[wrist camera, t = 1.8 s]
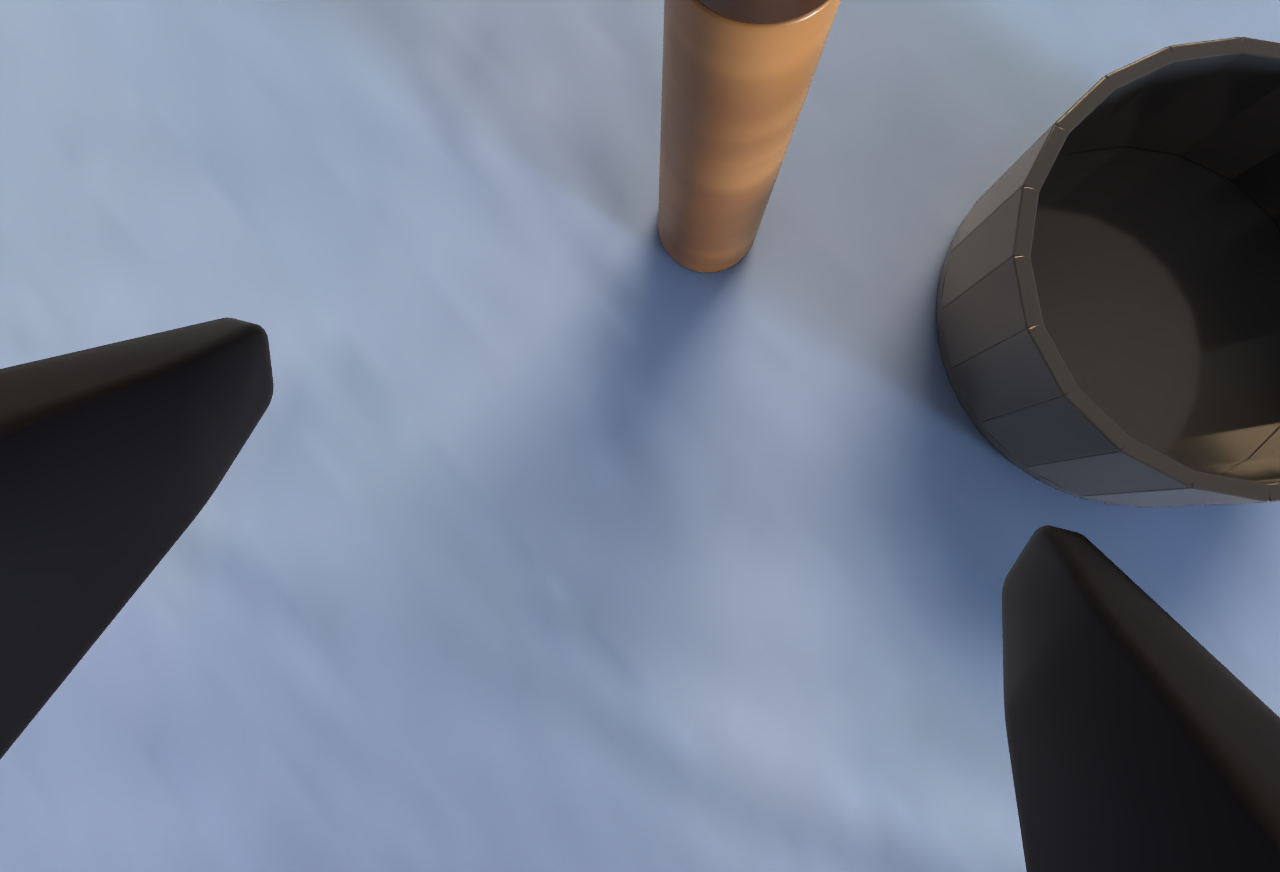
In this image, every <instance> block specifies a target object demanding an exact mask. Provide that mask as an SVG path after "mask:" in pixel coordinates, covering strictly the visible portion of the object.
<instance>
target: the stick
mask: <svg viewBox="0 0 1280 872" xmlns="http://www.w3.org/2000/svg"><path fill="white" fill-rule="evenodd" d="M840 1H841V0H665V1H664V36H663V71H662V106H661V142H660V177H659V212H658V231H659V236H660V239H661V242H662V244H663V246H664V248H665V250H666V251H667V253H668V254H669V255H670V256H671V258H672V259H674V260H675V261H676V262H677V263H679V264H680V265H682V266H683V267H685V268H687V269H690V270H693V271H697V272H705V273H710V272H718V271H722V270H725V269H727V268H730V267H732V266H733V265H735V264H736V263H738V262H739V261H740V260H741V259H742V258H743V257H744V256H745V255H746V254H747V253H748V251H749V250H750V248H751V246H752V244H753V241H754V239H755V236H756V233H757V230H758V228H759V225H760V222H761V219H762V216H763V214H764V211H765V208H766V205H767V203H768V200H769V197H770V194H771V192H772V189H773V186H774V183H775V181H776V178H777V175H778V172H779V170H780V167H781V164H782V161H783V159H784V156H785V153H786V150H787V147H788V145H789V142H790V139H791V136H792V134H793V131H794V128H795V125H796V123H797V120H798V117H799V114H800V112H801V109H802V106H803V103H804V101H805V98H806V95H807V92H808V89H809V87H810V84H811V81H812V78H813V76H814V73H815V70H816V67H817V65H818V62H819V59H820V56H821V54H822V51H823V48H824V45H825V43H826V40H827V37H828V34H829V32H830V29H831V26H832V23H833V20H834V18H835V15H836V12H837V9H838V7H839V4H840Z"/></svg>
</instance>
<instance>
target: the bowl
mask: <svg viewBox="0 0 1280 872" xmlns="http://www.w3.org/2000/svg"><path fill="white" fill-rule="evenodd" d="M936 317H937V330H938V340H939V344H940V349H941V354H942V358H943V363H944V365H945V368H946V371H947V374H948V376H949V379H950V382H951V385H952V387H953V389H954V391H955V393H956V395H957V397H958V399H959V401H960V403H961V404H962V406H963V408H964V410H965V411H966V412H967V414H968V415H969V417H970V418H971V420H972V421H973V423H974V424H975V426H976V427H977V428H978V429H979V431H980V432H981V433H982V434H983V435H984V436H985V437H986V438H987V440H988V441H989V442H990V443H991V444H992V445H993V446H994V447H995V448H996V449H997V450H998V451H999V452H1000V453H1002V454H1003V455H1004V456H1005V457H1006V458H1007V459H1008V460H1010V461H1011V462H1012V463H1013V464H1014V465H1016V466H1017V467H1019V468H1020V469H1022V470H1023V471H1025V472H1026V473H1028V474H1029V475H1031V476H1032V477H1034V478H1035V479H1037V480H1039V481H1041V482H1043V483H1045V484H1047V485H1049V486H1051V487H1053V488H1055V489H1057V490H1060V491H1063V492H1066V493H1068V494H1071V495H1074V496H1077V497H1079V498H1083V499H1087V500H1092V501H1096V502H1101V503H1105V504H1116V505H1127V506H1135V507H1144V508H1146V507H1170V506H1194V505H1217V504H1241V503H1264V502H1276V501H1280V43H1276V42H1270V41H1264V40H1258V39H1252V38H1246V37H1241V38H1240V37H1235V38H1227V39H1219V40H1212V41H1204V42H1196V43H1188V44H1181V45H1173V46H1169V47H1165V48H1163V49H1161V50H1159V51H1157V52H1155V53H1153V54H1150V55H1148V56H1146V57H1144V58H1142V59H1140V60H1138V61H1135V62H1133V63H1131V64H1129V65H1127V66H1125V67H1123V68H1120V69H1118V70H1116V71H1114V72H1112V73H1110V74H1108V75H1106V76H1105V77H1103V78H1101V79H1100V80H1099V81H1098V82H1097V83H1096V84H1095V85H1094V86H1093V87H1092V88H1091V89H1090V90H1089V91H1088V92H1087V93H1086V94H1085V95H1084V96H1083V97H1081V98H1080V99H1079V100H1078V101H1077V102H1076V103H1075V104H1074V105H1073V106H1072V107H1071V108H1070V109H1069V110H1068V111H1067V112H1066V113H1065V114H1064V115H1063V116H1062V117H1060V118H1059V119H1058V120H1057V121H1056V122H1055V123H1054V124H1053V125H1052V126H1051V127H1050V128H1049V129H1048V130H1047V131H1046V132H1045V133H1044V134H1043V135H1042V136H1041V137H1040V138H1039V139H1038V140H1037V141H1036V142H1035V143H1034V144H1033V145H1032V146H1031V147H1030V148H1029V149H1028V150H1027V151H1026V152H1025V153H1024V154H1023V155H1022V156H1021V157H1020V158H1019V159H1018V160H1017V161H1016V162H1015V163H1014V164H1013V165H1012V166H1011V167H1010V168H1009V169H1008V170H1007V171H1006V172H1005V173H1004V174H1003V175H1002V176H1001V177H1000V178H999V179H998V180H997V181H996V182H995V183H994V184H993V185H992V186H991V187H990V188H989V189H988V190H987V191H986V192H985V193H984V194H983V195H982V196H981V197H980V198H979V199H978V200H977V201H976V203H975V204H974V205H973V207H972V209H971V211H970V212H969V213H968V215H967V216H966V218H965V219H964V221H963V222H962V224H961V225H960V227H959V229H958V231H957V232H956V234H955V236H954V238H953V240H952V242H951V244H950V246H949V249H948V252H947V255H946V258H945V261H944V264H943V267H942V271H941V276H940V281H939V287H938V292H937V311H936Z"/></svg>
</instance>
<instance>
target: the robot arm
mask: <svg viewBox="0 0 1280 872" xmlns="http://www.w3.org/2000/svg"><path fill="white" fill-rule="evenodd" d="M272 395H273V376H272V368H271V359H270V351H269V342H268V337H267V334H266V332H265V330H264V329H263V328H262V327H261V326H259V325H257V324H253V323H249V322H245V321H241V320H237V319H233V318H221V319H217V320H213V321H208V322H204V323H200V324H195V325H191V326H187V327H182V328H178V329H173V330H169V331H165V332H160V333H156V334H152V335H147V336H143V337H139V338H134V339H130V340H125V341H121V342H117V343H112V344H108V345H104V346H99V347H95V348H91V349H86V350H82V351H77V352H73V353H69V354H64V355H60V356H56V357H51V358H47V359H43V360H38V361H34V362H29V363H25V364H21V365H16V366H12V367H8V368H3V369H0V759H1V758H2V757H3V755H4V754H5V753H6V752H7V750H8V749H9V748H10V747H11V745H12V744H13V743H14V742H15V741H16V739H17V738H18V737H19V736H20V734H21V733H22V732H23V731H24V729H25V728H26V727H27V726H28V724H29V723H30V722H31V721H32V719H33V718H34V717H35V716H36V715H37V713H38V712H39V711H40V710H41V708H42V707H43V706H44V705H45V703H46V702H47V701H48V700H49V698H50V697H51V696H52V695H53V693H54V692H55V691H56V690H57V688H58V687H59V686H60V685H61V684H62V682H63V681H64V680H65V679H66V677H67V676H68V675H69V674H70V672H71V671H72V670H73V669H74V667H75V666H76V665H77V664H78V662H79V661H80V660H81V659H82V658H83V656H84V655H85V654H86V653H87V651H88V650H89V649H90V648H91V646H92V645H93V644H94V643H95V641H96V640H97V639H98V638H99V636H100V635H101V634H102V633H103V631H104V630H105V629H106V628H107V627H108V625H109V624H110V623H111V622H112V620H113V619H114V618H115V617H116V615H117V614H118V613H119V612H120V610H121V609H122V608H123V607H124V605H125V604H126V603H127V602H128V601H129V599H130V598H131V597H132V596H133V594H134V593H135V592H136V591H137V589H138V588H139V587H140V586H141V584H142V583H143V582H144V581H145V579H146V578H147V577H148V576H149V574H150V573H151V572H152V571H153V570H154V568H155V567H156V566H157V565H158V563H159V562H160V561H161V560H162V558H163V557H164V556H165V555H166V553H167V552H168V551H169V550H170V548H171V547H172V546H173V545H174V543H175V542H176V541H177V540H178V539H179V537H180V536H181V535H182V534H183V532H184V531H185V530H186V529H187V527H188V526H189V525H190V524H191V522H192V521H193V520H194V519H195V517H196V516H197V515H198V513H199V512H200V511H201V509H202V508H203V507H204V505H205V504H206V503H207V501H208V500H209V498H210V497H211V496H212V494H213V493H214V491H215V490H216V488H217V487H218V485H219V484H220V482H221V480H222V479H223V477H224V476H225V474H226V472H227V471H228V469H229V468H230V466H231V465H232V463H233V461H234V460H235V458H236V457H237V455H238V454H239V452H240V450H241V449H242V447H243V446H244V444H245V442H246V441H247V439H248V438H249V436H250V435H251V433H252V431H253V430H254V428H255V427H256V425H257V423H258V422H259V420H260V419H261V417H262V416H263V414H264V412H265V411H266V409H267V408H268V406H269V404H270V401H271V399H272ZM1002 628H1003V676H1004V707H1005V721H1006V730H1007V738H1008V745H1009V752H1010V759H1011V766H1012V773H1013V780H1014V787H1015V794H1016V801H1017V807H1018V814H1019V821H1020V828H1021V835H1022V842H1023V849H1024V856H1025V863H1026V870H1027V872H1280V718H1279V717H1278V716H1277V715H1276V714H1275V713H1274V712H1273V711H1272V710H1271V709H1270V708H1269V707H1268V706H1267V705H1265V704H1264V703H1263V702H1262V701H1261V700H1260V699H1259V698H1258V697H1257V696H1256V695H1255V694H1254V693H1253V692H1251V691H1250V690H1249V689H1248V688H1247V687H1246V686H1245V685H1244V684H1243V683H1242V682H1241V681H1240V680H1239V679H1237V678H1236V677H1235V676H1234V675H1233V674H1232V673H1231V672H1230V671H1229V670H1228V669H1227V668H1226V667H1225V666H1223V665H1222V664H1221V663H1220V662H1219V661H1218V660H1217V659H1216V658H1215V657H1214V656H1213V655H1212V654H1211V653H1209V652H1208V651H1207V650H1206V649H1205V648H1204V647H1203V646H1202V645H1201V644H1200V643H1199V642H1198V641H1197V640H1196V639H1194V638H1193V637H1192V636H1191V635H1190V634H1189V633H1188V632H1187V631H1186V630H1185V629H1184V628H1183V627H1182V626H1180V625H1179V624H1178V623H1177V622H1176V621H1175V620H1174V619H1173V618H1172V617H1171V616H1170V615H1169V614H1168V613H1166V612H1165V611H1164V610H1163V609H1162V608H1161V607H1160V606H1159V605H1158V604H1157V603H1156V602H1155V601H1154V600H1153V599H1151V598H1150V597H1149V596H1148V595H1147V594H1146V593H1145V592H1144V591H1143V590H1142V589H1141V588H1140V587H1139V586H1137V585H1136V584H1135V583H1134V582H1133V581H1132V580H1131V579H1130V578H1129V577H1128V576H1127V575H1126V574H1125V573H1124V572H1122V571H1121V570H1120V569H1119V568H1118V567H1117V566H1116V565H1115V564H1114V563H1113V562H1112V561H1111V560H1110V559H1108V558H1107V557H1106V556H1105V555H1104V554H1103V553H1102V552H1101V551H1100V550H1099V549H1098V548H1097V547H1096V546H1094V545H1093V544H1092V543H1091V542H1090V541H1089V540H1088V539H1087V538H1086V537H1085V536H1083V535H1082V534H1079V533H1077V532H1073V531H1069V530H1065V529H1061V528H1057V527H1053V526H1048V525H1047V526H1043V527H1040V528H1039V529H1038V530H1036V531H1035V533H1034V534H1033V535H1032V537H1031V538H1030V540H1029V541H1028V543H1027V545H1026V546H1025V548H1024V549H1023V551H1022V552H1021V554H1020V556H1019V557H1018V559H1017V560H1016V562H1015V563H1014V565H1013V567H1012V568H1011V570H1010V571H1009V573H1008V575H1007V577H1006V579H1005V582H1004V585H1003V590H1002Z"/></svg>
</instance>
